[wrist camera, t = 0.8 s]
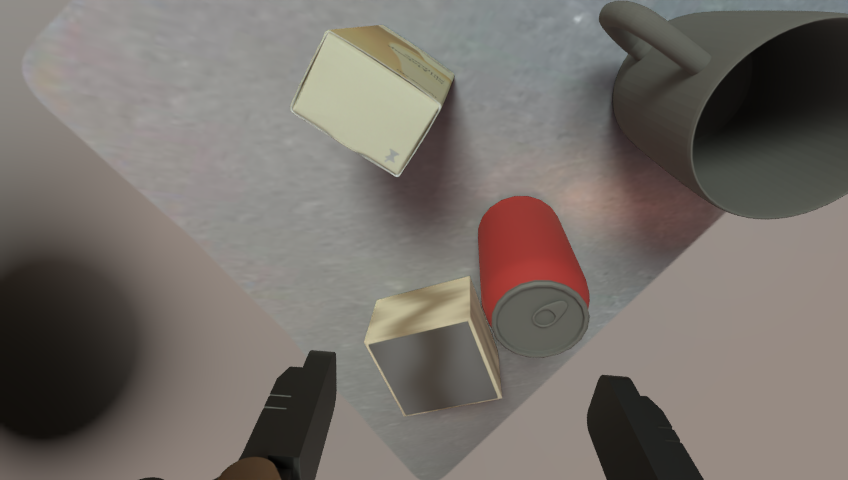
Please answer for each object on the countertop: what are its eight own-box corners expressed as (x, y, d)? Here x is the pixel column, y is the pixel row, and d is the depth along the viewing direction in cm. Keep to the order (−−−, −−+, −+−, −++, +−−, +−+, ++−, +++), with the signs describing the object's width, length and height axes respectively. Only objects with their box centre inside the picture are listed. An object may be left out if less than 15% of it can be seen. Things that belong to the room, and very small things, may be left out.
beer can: (575, 229, 35) (623, 324, 24) (514, 277, 38) (533, 381, 27) (521, 176, 33) (547, 253, 23) (461, 230, 36) (459, 321, 25)
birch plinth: (469, 276, 38) (470, 318, 33) (497, 350, 42) (502, 400, 36) (377, 300, 40) (363, 343, 35) (411, 369, 44) (404, 418, 38)
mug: (785, 63, 28) (977, 94, 18) (676, 174, 32) (780, 254, 22) (626, -67, 26) (738, -121, 15) (530, 72, 30) (565, 105, 19)
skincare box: (456, 73, 30) (451, 108, 19) (424, 126, 32) (403, 183, 21) (377, 19, 29) (324, 24, 18) (348, 77, 31) (285, 112, 20)
